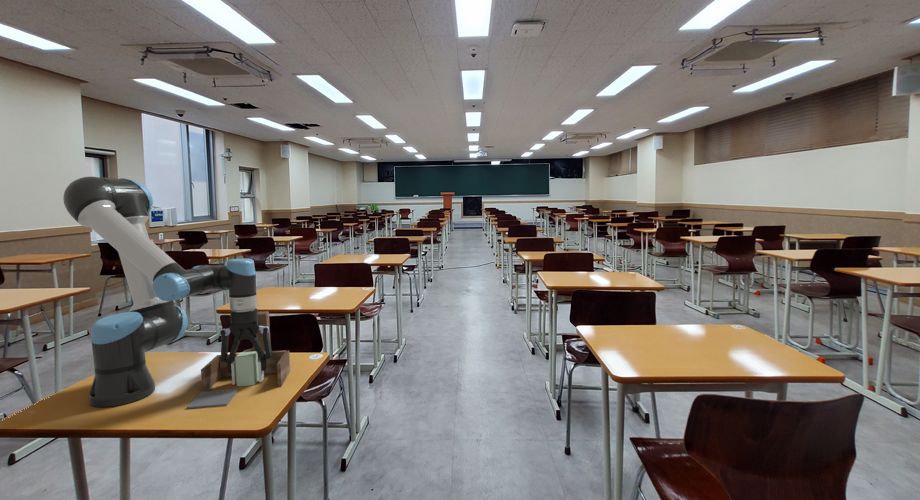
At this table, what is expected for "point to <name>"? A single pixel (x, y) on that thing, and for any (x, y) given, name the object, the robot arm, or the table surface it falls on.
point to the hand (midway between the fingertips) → (248, 381)
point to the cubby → (220, 369)
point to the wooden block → (263, 321)
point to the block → (247, 368)
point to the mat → (213, 398)
